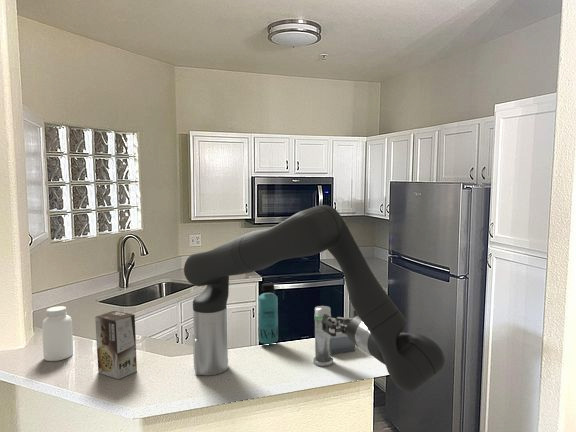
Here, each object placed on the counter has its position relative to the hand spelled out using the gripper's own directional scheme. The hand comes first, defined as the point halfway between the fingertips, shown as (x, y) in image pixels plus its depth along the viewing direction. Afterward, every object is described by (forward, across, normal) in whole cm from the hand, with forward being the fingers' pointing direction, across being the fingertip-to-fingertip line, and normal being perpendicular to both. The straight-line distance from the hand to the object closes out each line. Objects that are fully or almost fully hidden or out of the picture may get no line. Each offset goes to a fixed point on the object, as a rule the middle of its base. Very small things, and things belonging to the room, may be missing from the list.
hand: (339, 316), depth 108 cm
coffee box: (+26, +56, +16) cm, 64 cm away
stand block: (+20, -8, +17) cm, 28 cm away
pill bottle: (+44, +74, +16) cm, 87 cm away
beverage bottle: (+30, +11, +17) cm, 36 cm away
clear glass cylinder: (+12, 0, +17) cm, 20 cm away
